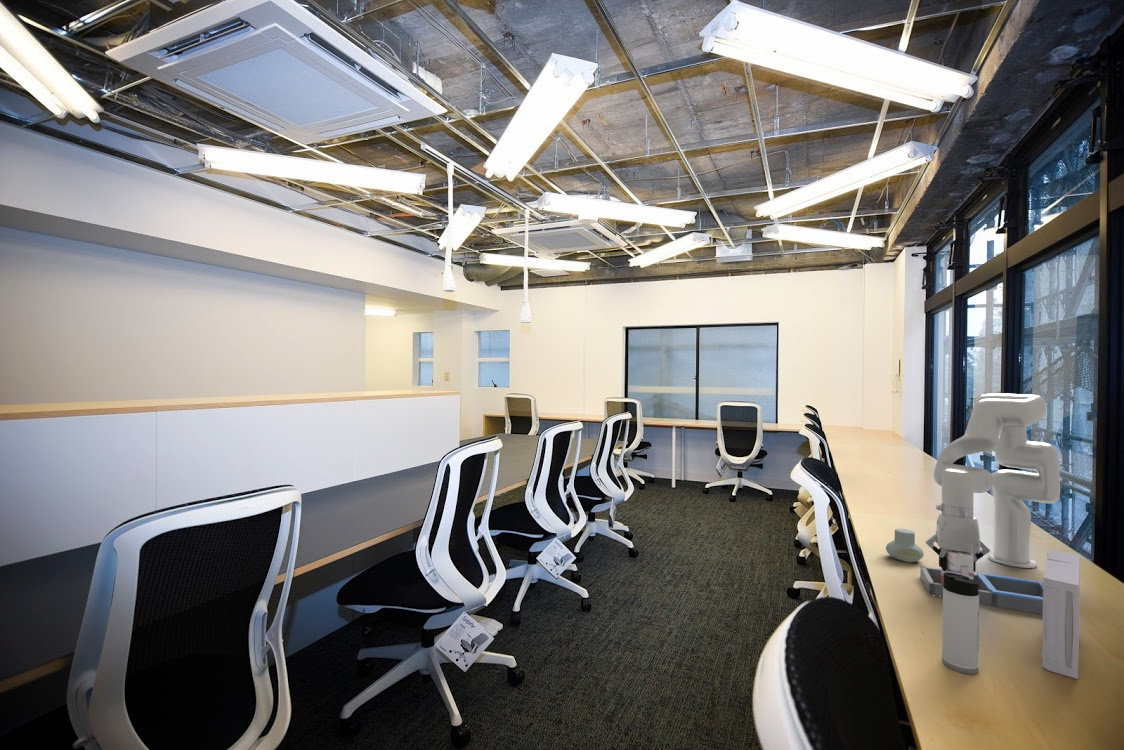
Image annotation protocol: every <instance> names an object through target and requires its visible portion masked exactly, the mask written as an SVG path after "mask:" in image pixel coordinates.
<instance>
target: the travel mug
mask: <svg viewBox="0 0 1124 750" xmlns="http://www.w3.org/2000/svg"><path fill="white" fill-rule="evenodd" d="M943 582H944V584H943V598H942V635H941V636H942V639H941V640H942V642H941V643H942V645H941V646H942V647H941V648H942V649H941V651H942V652H941V653H942V654H941V655H942V656H941V660H942V664H943V665H945V666H946V667H947V668H949V669H950V670H952V669H953V670H952V671H955V672H957V671H958V673H960V672H961V673H962V674H965V673H967V675H974V674H975V675H976V674H977V673H978V672H979V652H980V651H979V649H980V648H979V639H980V638H979V637H980V636H979V635H980V633H979V632H980V631H979V630H980V629H979V628H980V626H979V625H980V624H979V623H980V604H979V591H978V590H979V582H977V581H974V580H972V579H969V577H966V576H963V575H959V574H955V573H944V574H943Z"/></svg>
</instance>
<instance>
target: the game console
mask: <svg viewBox="0 0 1124 750" xmlns="http://www.w3.org/2000/svg"><path fill="white" fill-rule="evenodd" d="M1046 554H1047V556H1046V557H1047V558H1046V559H1047V560H1046V563H1045V564H1046V565H1045V570H1044V573H1043V576H1042V578H1043V579H1042V588H1043V614H1042V649H1041V651H1040V657H1041V658H1042V659H1041V661H1042V667H1043V668H1044V669H1046V670H1048V671H1049V672H1053V673H1056V674H1059V675H1062V676H1066V677H1069V678H1072V679H1076V680H1078V679H1079V658H1080V657H1079V655H1080V653H1079V652H1080V647H1079V646H1080V594H1081V593H1080V592H1081V589H1080V585H1081V584H1080V581H1081V578H1080V577H1081V574H1080V573H1081V555H1080V554H1077V553H1072V552H1068V551H1066V552H1065V551H1061V550H1056V549H1055V550H1054V549H1048V552H1047V553H1046Z"/></svg>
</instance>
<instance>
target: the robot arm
mask: <svg viewBox="0 0 1124 750" xmlns="http://www.w3.org/2000/svg"><path fill="white" fill-rule="evenodd" d="M1046 412H1047V403H1046V401H1045V399H1044V398H1043V397H1042V396H1040V395H1038V394H1022V393H1021V394H1020V393H1018V394H1017V393H999V392H998V393H986V394H985V393H984V394H981V395H980V396H978V398H977V400H976V402H975V403H974V406H973V408H972V411H971V413H970V417H969V420H968V422H967V425H966V426H967V427H966V429H965V432H964V435H962V436H960V437H959V438H956V439H955V440H953V441H952V442H950V443H949V444H948V445H946V446H945V447H944V448H943V449H942V450H941V451H940V452H939V455H938V457H937V461H936V463H935V466H934V470H933V479H934V482H935V483H936V484H937V485H938V486H940V487H941V503H940V504H936V505H935V510H938V511H940V512H939V513H938V516H937V520H936V521H937V522H936V528H935V533H934V535H932V536H931V537H929V538H928V539H927V540H926V541H925V545H927V546H928V547H929V548H930V549H932V551H933V552H934V553H936V554H937V556H938V567H939V568H940V569H941V568H942V570H943V571H946V558H945V554H946V552H947V550H953V551H961V552H969V553H971V546H970V545H972V548H973V557H974V568H973V572H976V564H977V562H978V561H979V560H980V559H982V558H983V557H984V556H985V555H987V554H988V555H987V557H988V559H989V560H991V561H993V562H994V563H995V562H996V563H998V564H1001V565H1005V566H1009V567H1015V568H1022V569H1033V568H1036V567H1037V561H1035V560H1034V559H1031V548H1032V547H1031V545H1032V543H1031V541H1032V540H1031V538H1032V537H1031V536H1032V535H1031V532H1032V531H1031V530H1032V529H1031V528H1032V521H1031V519H1032V513H1031V510H1030V509H1029V507H1028V506H1027V505H1026V503H1025V502H1024V501H1028V502H1029V501H1030V502H1035V503H1042V504H1054V503H1057V502H1058V500H1059V499H1060V496H1061V477H1060V474H1061V473H1060V459H1059V453H1058V451H1057V449H1056V447H1055V445H1052V444H1051V443H1048V442H1042V441H1032V440H1029V439H1028V437H1027V435H1028V433H1027V427H1030V426H1032V425H1034V424H1037V423H1038V422H1040V421H1041V420H1042V419H1044V416H1045V415H1046ZM993 449H994V455H995V456H994V457H995V460H996V462H997V463H998V464H999V465H1001V466H1004V467H1007V468H1014V469H999V470H996V471H994V472H993V473H991V472H990V471H989V470H987V469H985V468H982V467H975V466H970V465H969V466H968V465H962V464H954V463H955V462H956V461H957V460H959V459H961V458H963V457H966V456H969V455H970V456H971V455H973V454H974V455H975V454H979V453H983V452H987V451H991V450H993ZM1015 468H1016V469H1022V470H1015ZM1023 470H1029V471H1030V470H1031V471H1035V472H1029V471H1023ZM991 488H992V492H993V500H994V501H993V504H994V505H993V506H994V510H993V511H994V516H993V517H994V520H993V521H994V523H993V524H994V525H993V552H991V549H990V548H989V547H988V546H986V544H984V543H983V542H982V541H981V538H980V537H981V536H980V526H979V521H978V518H977V517H976V516H974V493H976V494H984V493H986V492H989V490H991ZM934 543H936V545H935V544H934ZM937 546H938V547H939V548H938V547H937Z"/></svg>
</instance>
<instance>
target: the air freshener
mask: <svg viewBox="0 0 1124 750" xmlns="http://www.w3.org/2000/svg"><path fill="white" fill-rule="evenodd" d="M885 551H886V553H887V554H888V555H890V557H891V558H893V559H895V560H898V561H900V562H903V563H914V562H919V561H920V560H921V559H923V557H924V551H923V549H922V548H921V546H919V545H918V544H916V533H915V531H913V530H911V529H908V528H895V529H894V540H891V541H889V542H888V543H887V544H886V546H885Z"/></svg>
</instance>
